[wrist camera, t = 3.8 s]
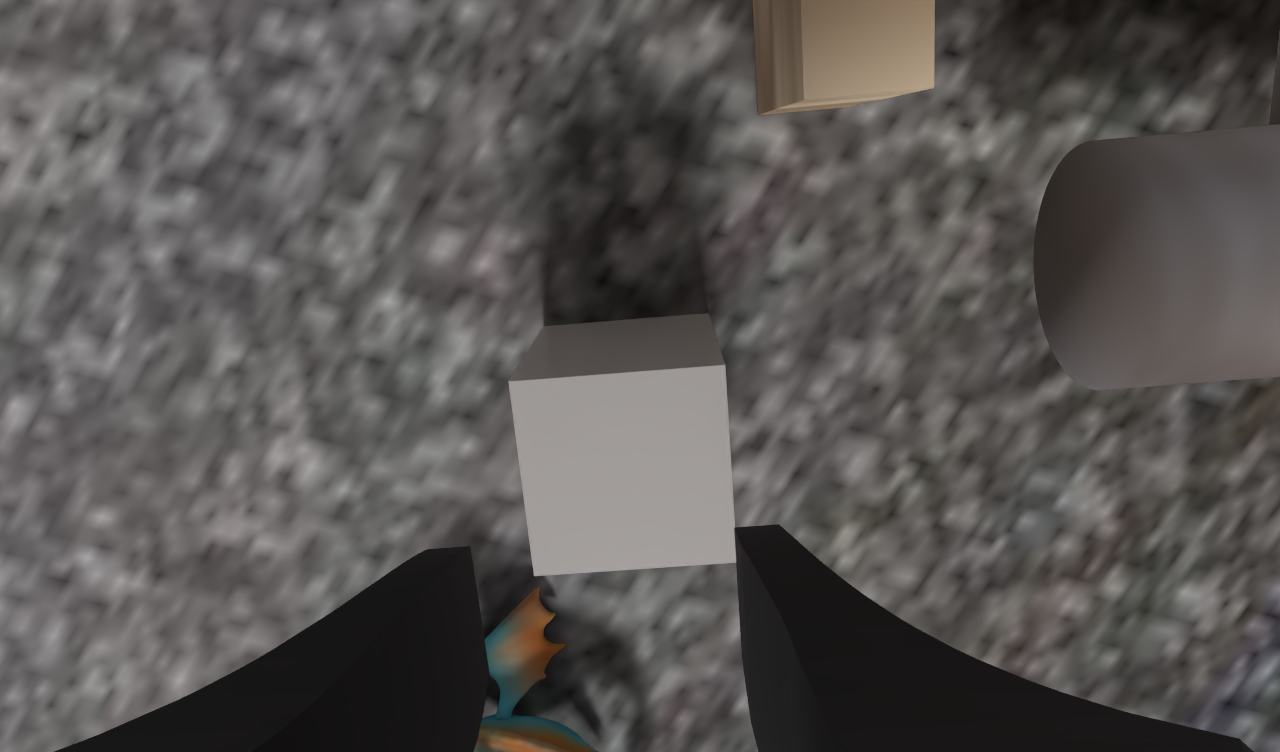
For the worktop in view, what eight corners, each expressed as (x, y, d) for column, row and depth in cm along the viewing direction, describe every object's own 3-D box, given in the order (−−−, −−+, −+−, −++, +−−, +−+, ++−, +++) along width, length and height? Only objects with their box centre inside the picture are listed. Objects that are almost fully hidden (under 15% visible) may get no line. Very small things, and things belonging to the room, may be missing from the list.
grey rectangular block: (708, 312, 20) (725, 365, 15) (718, 467, 21) (736, 562, 16) (543, 325, 20) (508, 381, 15) (561, 478, 21) (534, 576, 16)
